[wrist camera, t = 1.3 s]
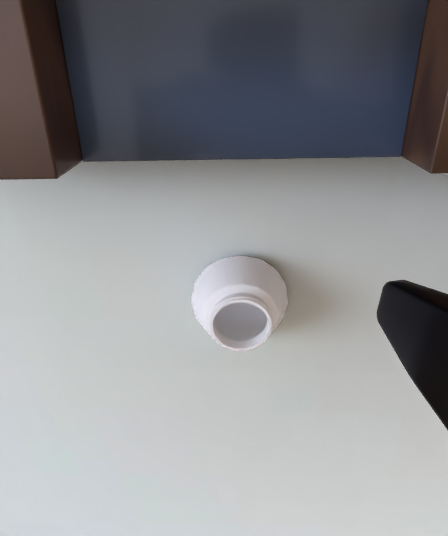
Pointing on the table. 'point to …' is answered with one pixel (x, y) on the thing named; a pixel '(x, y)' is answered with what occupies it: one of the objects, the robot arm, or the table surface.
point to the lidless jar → (239, 301)
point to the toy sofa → (220, 81)
